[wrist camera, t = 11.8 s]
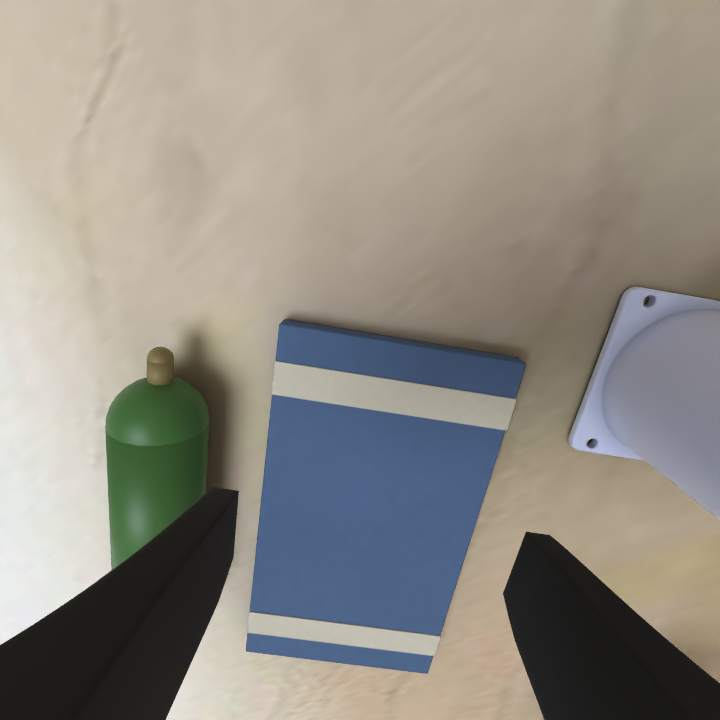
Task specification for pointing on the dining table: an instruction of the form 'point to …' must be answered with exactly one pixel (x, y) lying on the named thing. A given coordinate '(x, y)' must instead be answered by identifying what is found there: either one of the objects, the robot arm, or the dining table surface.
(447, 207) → the dining table surface
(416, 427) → the towel
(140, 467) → the courgette
